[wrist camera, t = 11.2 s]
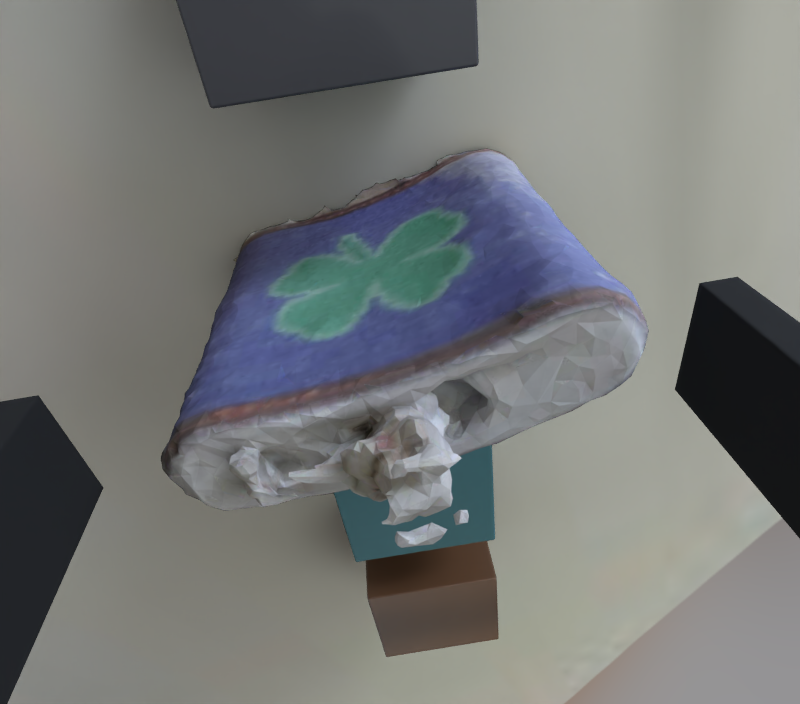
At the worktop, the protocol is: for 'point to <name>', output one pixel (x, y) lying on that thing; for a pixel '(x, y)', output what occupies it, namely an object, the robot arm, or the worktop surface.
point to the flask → (399, 344)
